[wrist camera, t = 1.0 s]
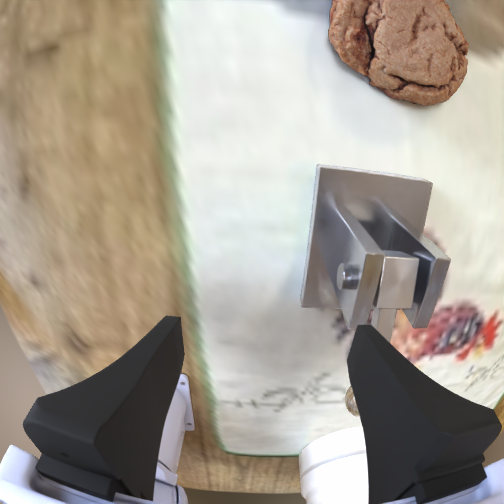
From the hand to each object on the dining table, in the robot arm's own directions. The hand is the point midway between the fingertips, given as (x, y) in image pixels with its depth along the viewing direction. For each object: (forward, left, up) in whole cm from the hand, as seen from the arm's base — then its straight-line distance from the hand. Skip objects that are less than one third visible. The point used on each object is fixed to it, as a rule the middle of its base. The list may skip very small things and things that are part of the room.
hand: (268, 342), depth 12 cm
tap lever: (-4, -7, -5) cm, 9 cm away
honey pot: (-28, -13, -10) cm, 33 cm away
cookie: (+16, -8, -10) cm, 20 cm away
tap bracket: (+1, -7, -10) cm, 12 cm away
